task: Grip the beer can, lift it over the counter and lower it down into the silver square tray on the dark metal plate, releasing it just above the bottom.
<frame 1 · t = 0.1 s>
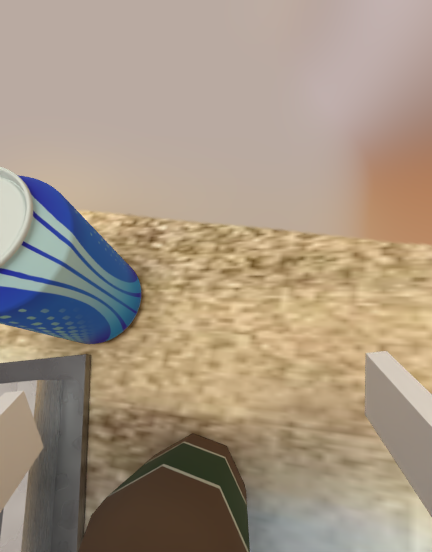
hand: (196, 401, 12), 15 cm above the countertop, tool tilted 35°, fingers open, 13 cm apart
beer bottle: (196, 485, 24), on the countertop
beer can: (104, 302, 30), on the countertop
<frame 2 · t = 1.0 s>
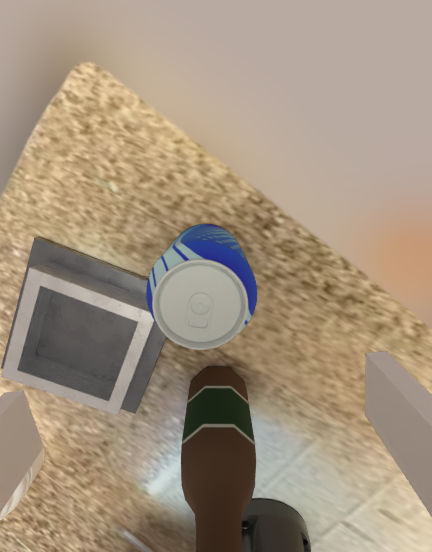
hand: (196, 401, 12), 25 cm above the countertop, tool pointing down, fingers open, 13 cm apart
silver square tray: (92, 329, 39), on the countertop
beer bottle: (217, 387, 41), on the countertop
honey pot: (0, 447, 44), on the countertop
beer can: (206, 258, 36), on the countertop
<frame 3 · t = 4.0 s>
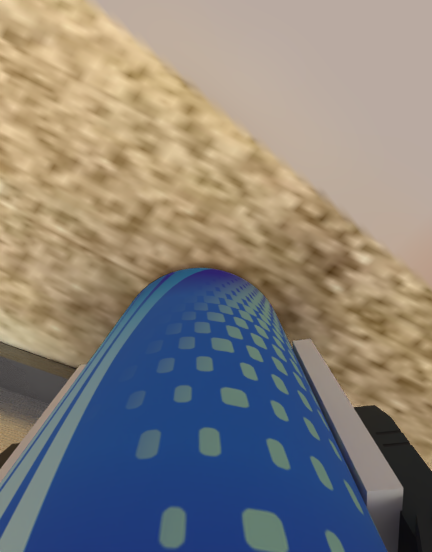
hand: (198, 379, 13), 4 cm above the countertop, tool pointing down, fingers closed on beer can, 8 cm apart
beer can: (202, 331, 17), on the countertop, touching gripper
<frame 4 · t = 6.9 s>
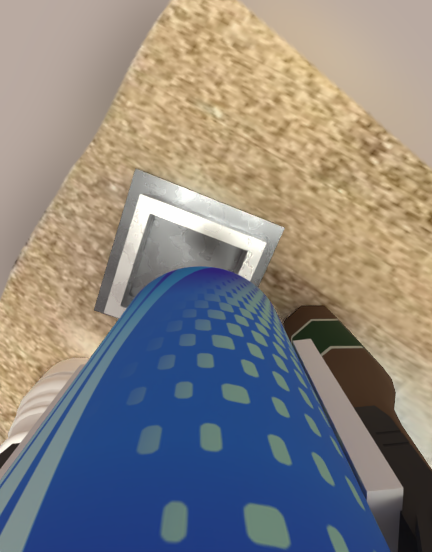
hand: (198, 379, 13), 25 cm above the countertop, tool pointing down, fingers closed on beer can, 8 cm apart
silver square tray: (186, 268, 38), on the countertop
beer bottle: (309, 329, 40), on the countertop
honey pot: (86, 396, 43), on the countertop
beer can: (202, 330, 17), point 21 cm above the countertop, touching gripper
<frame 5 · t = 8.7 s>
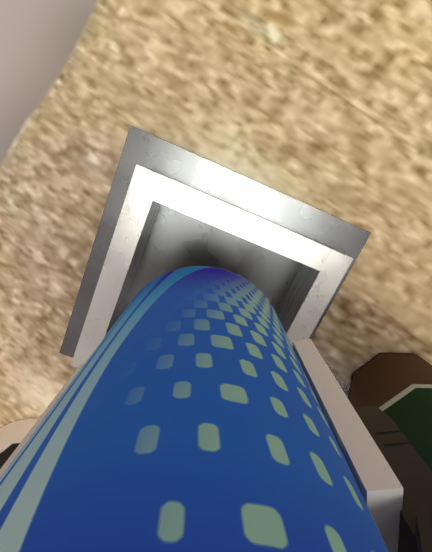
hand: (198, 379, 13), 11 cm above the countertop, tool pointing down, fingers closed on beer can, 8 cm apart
silver square tray: (206, 291, 24), on the countertop
beer bottle: (388, 386, 27), on the countertop
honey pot: (49, 471, 29), on the countertop
beer can: (202, 330, 17), point 7 cm above the countertop, touching gripper
when the fingers open (7 cm above the countertop, at t = 10.2 s): beer can drops 1 cm, resting on silver square tray.
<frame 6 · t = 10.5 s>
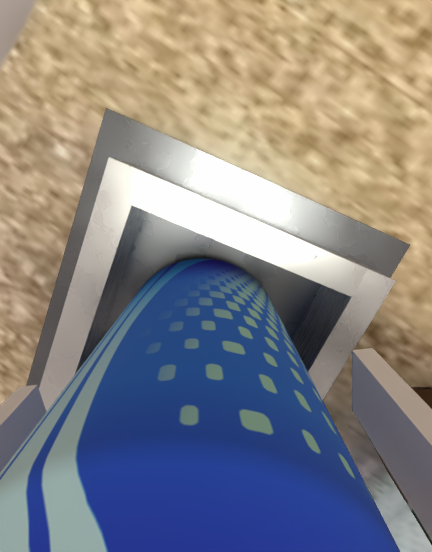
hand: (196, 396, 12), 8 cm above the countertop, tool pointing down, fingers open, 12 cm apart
silver square tray: (204, 315, 20), on the countertop
beer bottle: (421, 425, 22), on the countertop
beer can: (203, 319, 19), point 1 cm above the countertop, touching silver square tray
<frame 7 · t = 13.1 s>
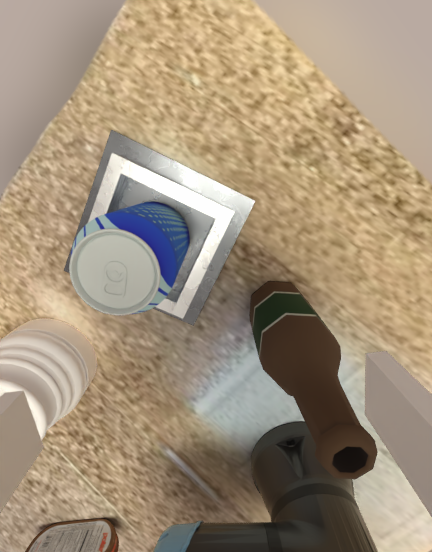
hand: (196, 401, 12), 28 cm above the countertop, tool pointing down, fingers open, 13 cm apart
silver square tray: (157, 235, 38), on the countertop
tin: (82, 522, 54), on the countertop
beer bottle: (275, 304, 41), on the countertop
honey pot: (53, 358, 44), on the countertop
beer can: (156, 235, 38), point 1 cm above the countertop, touching silver square tray
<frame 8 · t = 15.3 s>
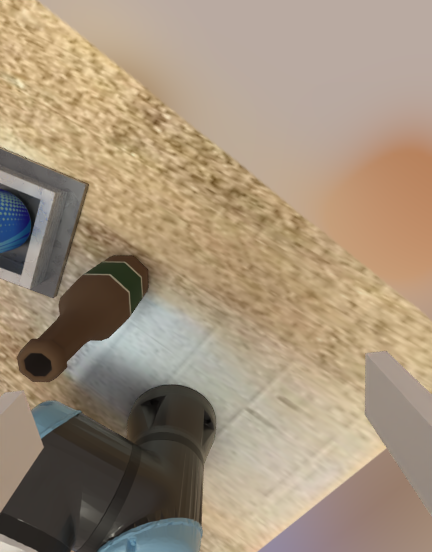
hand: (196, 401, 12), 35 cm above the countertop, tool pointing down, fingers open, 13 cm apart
silver square tray: (11, 219, 44), on the countertop
beer bottle: (126, 277, 47), on the countertop
beer can: (7, 219, 43), point 1 cm above the countertop, touching silver square tray
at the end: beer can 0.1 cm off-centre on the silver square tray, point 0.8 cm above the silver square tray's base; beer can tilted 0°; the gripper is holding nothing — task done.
